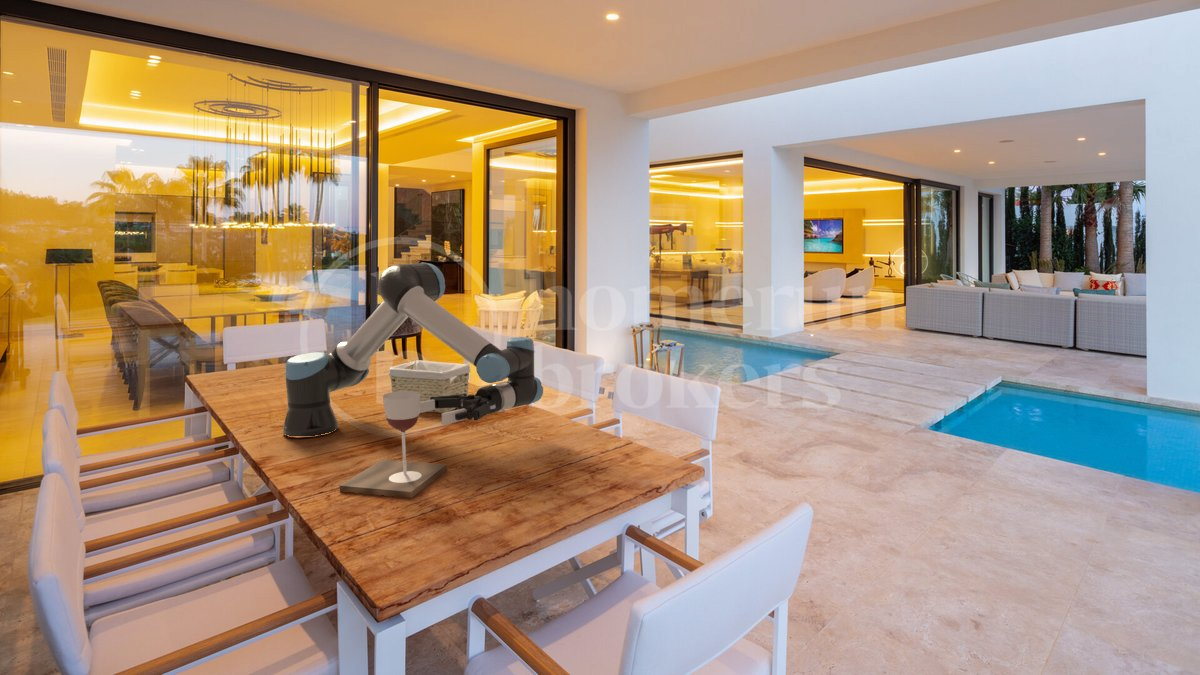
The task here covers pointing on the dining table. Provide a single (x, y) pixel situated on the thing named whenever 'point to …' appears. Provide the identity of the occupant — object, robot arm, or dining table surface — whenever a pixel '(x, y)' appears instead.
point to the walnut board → (379, 483)
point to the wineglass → (402, 424)
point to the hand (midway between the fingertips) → (426, 414)
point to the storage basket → (431, 379)
